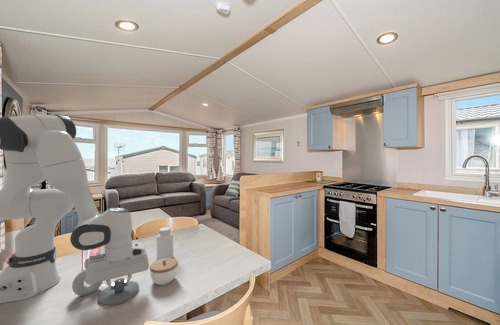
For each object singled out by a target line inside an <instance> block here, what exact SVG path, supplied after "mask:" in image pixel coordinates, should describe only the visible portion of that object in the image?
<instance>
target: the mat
mask: <svg viewBox="0 0 500 325" xmlns="http://www.w3.org/2000/svg"><path fill="white" fill-rule="evenodd" d="M135 282H136V283H138V282H137V281H135ZM103 290H104V289H103ZM103 290H101V291H100V293H101V292H102V291H103ZM136 299H139V293H137V294H136V295H135V296H134V297H132V298H131V299H129V300H128V301H125V302H124V303H126V302H129V301H133V300H136ZM112 306H114V305H111V306H106V305H102V304H100V303H99V302H98V310H102V309H105V308H109V307H110V308H111V307H112Z"/></svg>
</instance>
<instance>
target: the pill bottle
mask: <svg viewBox="0 0 500 325" xmlns="http://www.w3.org/2000/svg"><path fill="white" fill-rule="evenodd" d="M158 231H159V234H157V236H156V260H159V259H163V258H173V256H174V235H173V233H172V232H171V228H170V227H169V226H168V227H161V228H159V230H158Z"/></svg>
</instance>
